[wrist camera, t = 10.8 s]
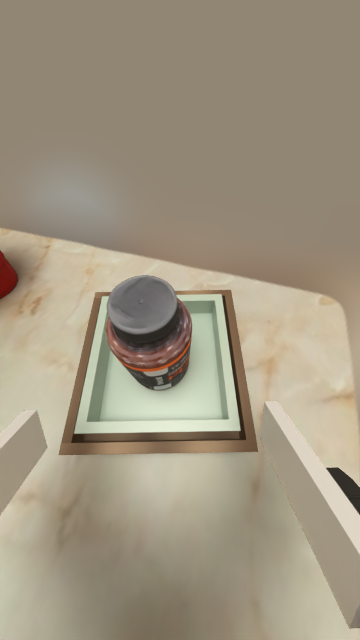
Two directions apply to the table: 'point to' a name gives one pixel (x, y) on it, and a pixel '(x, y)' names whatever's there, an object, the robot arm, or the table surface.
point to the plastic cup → (6, 277)
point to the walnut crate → (164, 440)
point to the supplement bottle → (149, 331)
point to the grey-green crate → (171, 404)
